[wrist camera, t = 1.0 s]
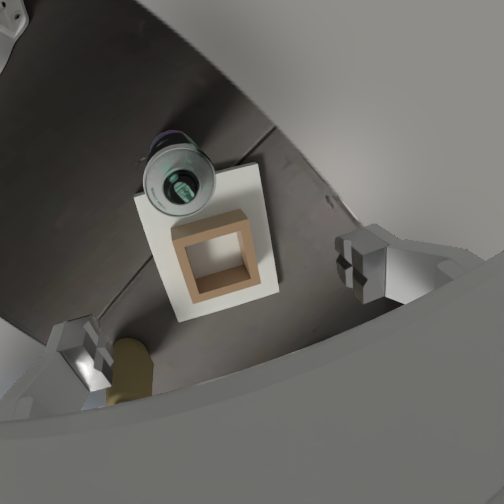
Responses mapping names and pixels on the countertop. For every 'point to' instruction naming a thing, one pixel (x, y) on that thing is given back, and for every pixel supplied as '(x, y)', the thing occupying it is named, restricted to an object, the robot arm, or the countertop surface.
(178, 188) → the spray can
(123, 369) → the squeeze bottle
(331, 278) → the countertop surface
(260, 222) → the socket board
